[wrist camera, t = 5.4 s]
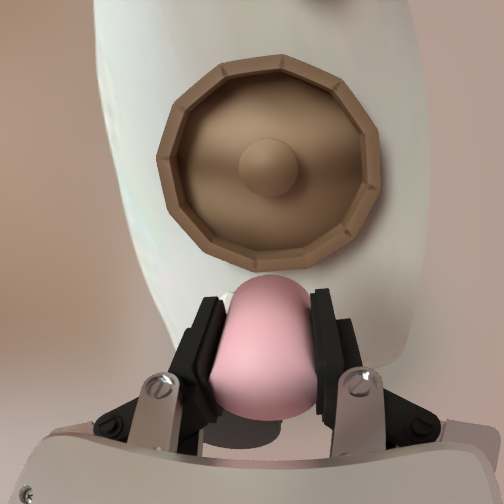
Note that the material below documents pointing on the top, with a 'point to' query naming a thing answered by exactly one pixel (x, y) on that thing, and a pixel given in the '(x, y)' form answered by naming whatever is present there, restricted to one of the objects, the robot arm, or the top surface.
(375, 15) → the top surface
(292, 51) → the top surface
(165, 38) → the top surface
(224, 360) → the bead
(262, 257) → the tray
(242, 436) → the jar
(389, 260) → the top surface
